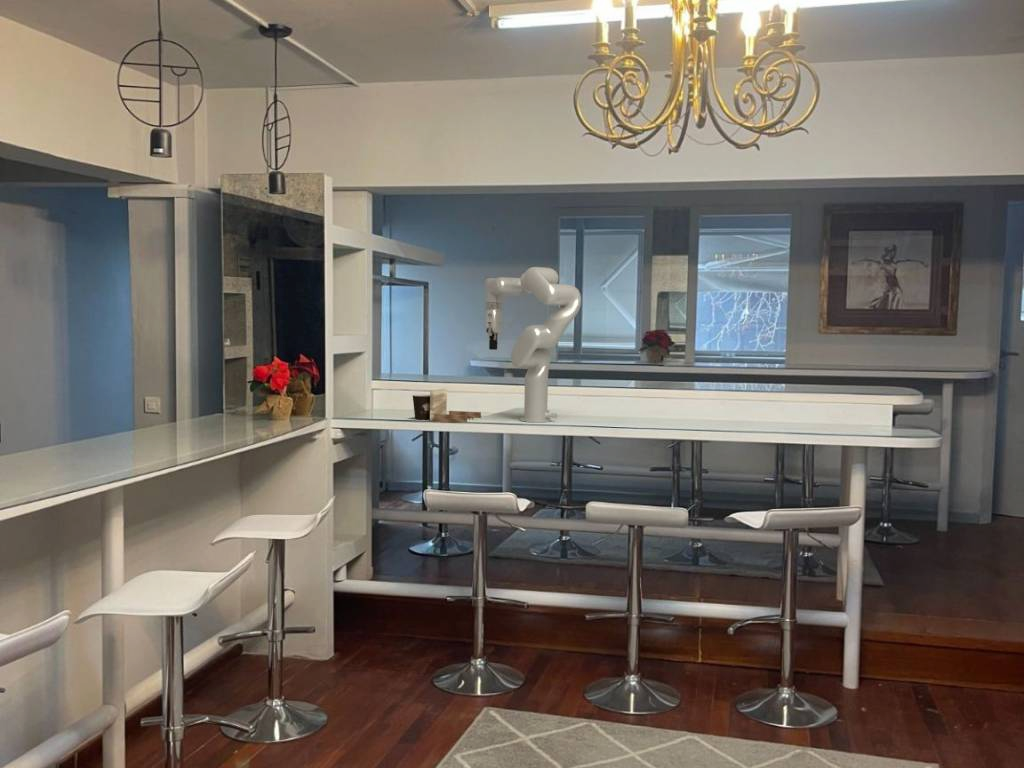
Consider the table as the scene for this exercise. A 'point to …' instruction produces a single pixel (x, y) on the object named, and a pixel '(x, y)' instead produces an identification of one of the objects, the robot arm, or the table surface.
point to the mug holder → (456, 416)
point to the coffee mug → (421, 407)
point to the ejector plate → (438, 402)
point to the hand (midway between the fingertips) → (493, 349)
